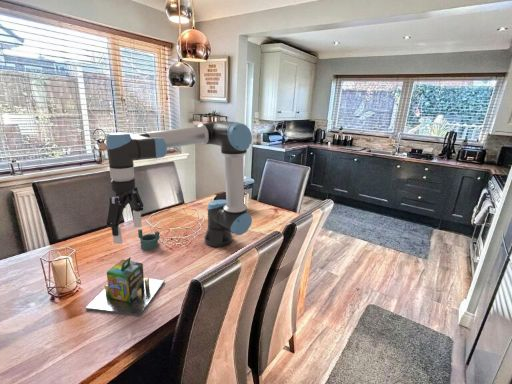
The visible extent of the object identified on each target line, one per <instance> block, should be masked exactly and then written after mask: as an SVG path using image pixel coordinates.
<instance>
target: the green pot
mask: <svg viewBox="0 0 512 384" xmlns="http://www.w3.org/2000/svg"><path fill="white" fill-rule="evenodd" d="M137 232H138V233H137V234H138V238H139V239H140V249H141V250H142V251H153V250H156V249H157V248H158V247H159V240H160V231H155V232H154V233H147V234H143V229H140V228H139V229H138V231H137Z"/></svg>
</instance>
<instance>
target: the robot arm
mask: <svg viewBox="0 0 512 384" xmlns="http://www.w3.org/2000/svg"><path fill="white" fill-rule="evenodd" d="M105 137H106V138H105V140H106V143H105V144H106V151H107V152H106V153H107V158H108V166H109V177H110V179H111V180H110V185H111V190H112V191H113V192H114V193H115V196H110V197H109V208H108V213H107V220H106V225H105V226H106V227H107V228H110V229H111V232H112V233H111V234H112V238H113V239H112V240H113V244H118V245H122V244H123V242H124V241H123V235H122V234H123V233H122V226H121V225H120V223H121V219H122V217H123V214H124V209H126V208H127V205H130V207H131V208H132V209H133V211H132V217H133V218H132V219H133V227H134V228H142V225H143V224H142V214H141V211H143V210H144V203H143V201H142V199H141V196H140V194H139V190H138V186H136V180H135V170H134V169H135V167H134V166H135V165H134V161H141V160H142V161H143V160H153V159H161V158H164V157H165V156H166V155H167V151H168V149H172V148H178V147H184V146H191V145H196V144H201V145H203V146H204V145H205V146H206V145H215V146H219V147H220V151H221V154H222V155H223V156H224V171H225V172H224V173H225V192H226V200H214V199H213V200H212V201H209V202H208V204H207V230H206V232H205V235H204V243H205V245H207V246H209V247H212V248H223V247H226V246H229V245H231V244H232V243H233V235H232V234H235V235H237V236H241V235H243V234H245V233H247V232H248V230H249V229H250V228H251V226H252V223H253V218H252V217H253V216H251V215H250V214H249V213H248V205H247V206H246V205H245V204H244V192H245V190H244V188H245V187H244V186H245V183H244V182H245V181H244V177H245V176H244V175H245V173H244V172H245V171H244V156H245V155H246V154H247V150H249V148H250V145H251V144H252V140H253V136H252V132H251V129H250V128H249V127H248V126H247V125H246V124H243V123H240V122H238V121H225V120H216V121H211V122H206V123H200V124H198V125H197V126H190V127H183V128H174V129H173V128H172V129H165V130H158V131H157V130H155V131H148V132H147V131H146V132H140V133H134V132H131V133H130V132H109V133H107V134H106V136H105Z"/></svg>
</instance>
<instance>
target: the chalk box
mask: <svg viewBox="0 0 512 384" xmlns="http://www.w3.org/2000/svg"><path fill="white" fill-rule="evenodd" d="M144 275H145V274H144V263H142V262H138V261H134V260H133V261H132V260H131V257H130V256H129V257H128V258H127V259H121V260H120V261H119V262H117V263H116V264H115V265H114V266H112V267H111V268H110V269H109V270H108V271H106V277H107V284H108V287H109V295H110V298H112V299H117V300H121V301H126V302H130V303H131V302H132V301H133V300H134V299H135V298H136V297H137V289H138V288H141V291H143V290H144V278H145V277H144Z"/></svg>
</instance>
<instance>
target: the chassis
mask: <svg viewBox="0 0 512 384" xmlns="http://www.w3.org/2000/svg"><path fill="white" fill-rule="evenodd" d="M164 284H165V280H164V279H157V278H148V277H144V290H143V291H141V288H138V289H137V297H136V298H135V299H134V300H133V301H132V302H131V303H130V302H126V301H121V300H117V299H112V298H110V295H109V287H108V283H107V284H105V285H104V289H103V290H102V291H101V292H99V294H98V295H96V297H95V298H94V299H93V300H92V301H90V303H89V304H88V305H87V306H86V307H85V310H86V311H91V312H92V311H93V312H101V313H109V314H114V315H115V314H116V315H125V316H133V317H142V315H143V314H144V312H145V311H146V310H147V308H148V306H149V305H150V304H151V303H152V301H153V300H154V298H155V297H156V295H157V294H158V292H159V291H160V290H161V288H162V287H163V285H164Z"/></svg>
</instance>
